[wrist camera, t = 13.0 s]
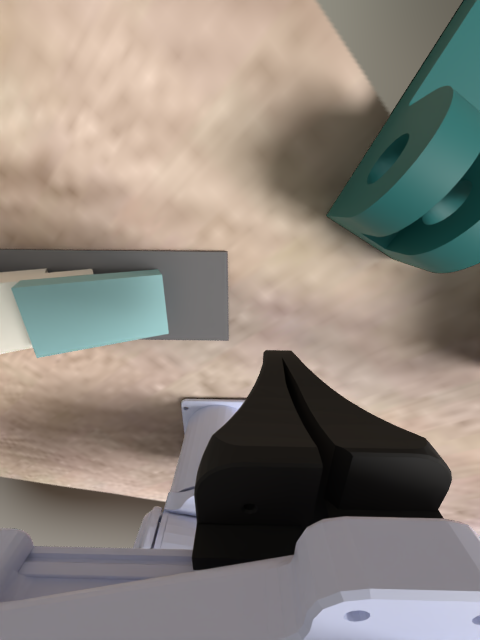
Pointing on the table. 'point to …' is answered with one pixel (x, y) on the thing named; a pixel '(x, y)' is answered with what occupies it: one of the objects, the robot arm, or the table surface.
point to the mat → (177, 273)
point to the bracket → (426, 161)
